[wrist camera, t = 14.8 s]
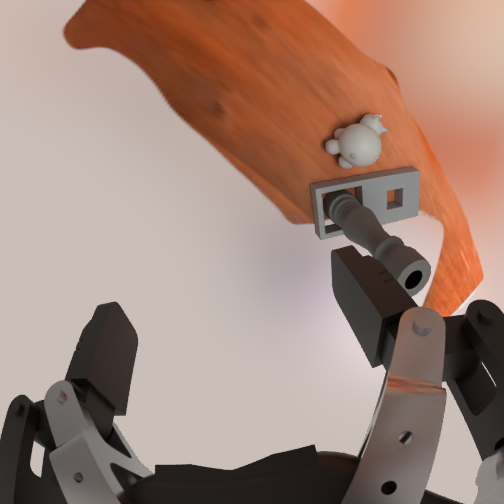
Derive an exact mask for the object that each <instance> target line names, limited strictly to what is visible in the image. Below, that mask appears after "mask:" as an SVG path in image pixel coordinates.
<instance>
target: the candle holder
mask: <svg viewBox="0 0 504 504" xmlns="http://www.w3.org/2000/svg"><path fill="white" fill-rule="evenodd" d="M323 211H324V213H325V214H326V215H327V216H328V217H329V218H330V219H331V220H332V222H334V224H337V225H338V226H340V227H342V230H343V233H344V235H345V236H346V237H347V238H348V239H349V240H350V241H352V242H354V243H356V244H358V245H360V246H362V247H364V248H365V249H367V250H368V251H369V252H370V253H371V254H372V255H373V256H372V257H373V258H375V259H377V260H379V261H380V262H381V263H382V264H383V265H384V266H385V267H386V268H387V270H388V272H390V273H391V274H392V275H393V276H394V279H396V280H397V281H398V282H399V283H400V285H401V286H402V287H403V288H404V289H405V291H406V292H407V293H408V294H409V295H410V297H412V296H414V295H416V294H417V293H418V292H419V291H420V290H421V289H423V288H424V286H425V285H426V283H427V282H428V280H429V277H430V274H431V266H430V264H429V262H427V260H426V259H425V258H424V257H423V256H421V255H420V254H419V253H418V252H417V251H416V250H415V249H413V248H411V247H407V246H405V245H404V243H403V241H402V240H401V239H400V238H398V237H396V236H390V235H389V234H388V233H387V232H385V231H384V229H383V228H382V226H381V224H380V223H379V221H378V219H377V217H376V216H375V214H374V213H373V211H372V210H371V209H369V208H367V207H365V206H361V205H360V203H359V202H358V200H357V199H356V198H355V197H354V196H353V195H352V194H350V193H349V192H348V191H346V190H344V189H342V190H337V191H332V192H328V193H327V194H326V195H325V198H324V200H323Z"/></svg>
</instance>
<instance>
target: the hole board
mask: <svg viewBox="0 0 504 504" xmlns="http://www.w3.org/2000/svg"><path fill="white" fill-rule="evenodd" d="M352 187H355V194H356V199H357V200H358V202H359V203H360V205H361V206H365V207H367V208H369V209H371V210H372V211H373V213H374V214H375V216H376V217H377V219H378V221H379V223H380V224H381V225H383V224H387V223H391V222H395V221H399V220H403V219H407V218H411V217H415V216H418V209H419V189H420V170H417V169H415V168H413V167H405V168H399V169H392V170H386V171H380V172H374V173H368V174H362V175H356V176H351V177H345V178H340V179H334V180H329V181H324V182H319V183H314V184H310V189H311V197H312V205H313V214H314V223H315V232H316V234H317V236H318V237H319V238H320V240H323V239H327V238H331V237H335V236H339V235H343V234H344V233H343V230H342V227H340V226H338V225H337V224H332V225H327V226H325V225H324V213H323V203H322V193H327V192H332V191H337V190H342V189H347V188H352ZM394 189H395V201H393V202H388V203H387V191H389V190H394Z"/></svg>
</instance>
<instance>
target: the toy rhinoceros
mask: <svg viewBox="0 0 504 504" xmlns="http://www.w3.org/2000/svg"><path fill="white" fill-rule="evenodd" d="M380 117H382V116H381V115H372V114H366V115H364V116H363V118H362V119H361V121H360V124H352V125H349V126H348V127H346V128H345V129H343V128H340V129H337V130H335V132H334V138H335V139H331V140H328V141H327V142H326V151H327V152H328V153H329V154H338V153H341V156H340V157H339V159H338V162H339V165H340V167H342V168H344V169H348V168H351V167H353V166H354V165H355V166H359V167H364V166H368V165H371V164H372V163H374V162H375V161H376V160H377V159H378V157H379V155H380V153H381V141H380V138H379V136H380V135H381V134H382V133H385V132H388V131H389V130H388V129H386V128H384V127H383V125H382V123H381V121H380V120H379V119H380Z"/></svg>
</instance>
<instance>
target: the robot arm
mask: <svg viewBox="0 0 504 504" xmlns="http://www.w3.org/2000/svg"><path fill="white" fill-rule="evenodd" d="M331 267H332V287H333V292H334V295H335V298H336V300H337V303H338V304H339V306H340V308H341V309H342V312H343V313H344V315H345V317H346V319H347V321H348V322H349V324H350V326H351V328H352V330H353V332H354V334H355V336H356V337H357V339H358V341H359V343H360V345H361V347H362V349H363V351H364V352H365V355H366V356H367V358H368V360H369V362H370V364H371V366H372V368H374V367H377V366H379V365H382V364H383V366H384V368H385V370H386V374H385V377H384V381H383V384H382V388H381V391H380V395H379V398H378V401H377V405H376V408H375V411H374V414H373V417H372V420H371V423H370V425H369V428H368V430H367V433H366V435H365V438H364V441H363V443H362V446H361V448H360V451H359V453H358V455H357V457H356V456H354V455H349V454H346V453H340V452H329V451H320V452H316V448H315V445H310V446H306V447H302V448H298V449H295V450H290V451H286V452H281V453H276V454H273V455H270V456H268V457H265V458H263V459H260V460H258V461H256V462H253V463H251V464H248V465H246V466H243V467H240V468H237V469H234V470H223V469H215V468H209V467H203V466H197V465H192V464H186V465H155V474H153V473H152V472H151V471H150V470H149V469H148V468H147V467H145V466H144V465H143V464H142V463H141V462H140V461H139V459H138V458H137V456H136V455H135V453H134V452H133V450H132V449H131V447H130V446H129V444H128V443H127V441H126V440H125V438H124V436H123V435H122V433H121V431H120V430H119V428H118V426H117V425H116V424H115V423H114V422H113V418H114V416H116V415H117V416H119V415H121V416H123V415H126V409H127V402H128V396H129V390H130V384H131V378H132V373H133V367H134V362H135V357H136V352H137V347H138V337H137V333H136V331H135V329H134V327H133V326H132V324H131V323H130V321H129V319H128V318H127V316H126V315H125V313H124V311H123V310H122V308H121V306H120V305H119V304H118V303H117V302H110V303H106V304H101V305H98V306H97V308H96V310H95V312H94V315H93V317H92V319H91V320H90V321H89V323H88V324H87V325H86V326H85V328H84V329H83V331H82V333H81V336H80V338H79V342H78V344H77V346H76V351H74V354H73V357H72V360H71V362H70V365H69V368H68V372H67V374H66V377H65V380H63V381H58V382H56V383H55V384H53V385H52V386H51V387H50V388H49V390H48V391H47V393H46V395H45V399H44V400H41V401H38V402H36V403H33V402H32V401H31V400H30V399H29V398H28V397H27V396H25V395H19V396H17V397H16V398H14V400H13V401H12V402H11V404H10V406H9V408H8V411H7V415H6V419H5V422H4V427H3V430H2V434H1V439H0V504H463V503H460V502H457V501H454V500H451V499H449V498H446V497H443V496H441V495H438V494H436V493H433V492H431V491H428V490H426V489H425V488H426V485H427V482H428V479H429V476H430V473H431V469H432V465H433V462H434V459H435V455H436V451H437V446H438V442H439V438H440V433H441V428H442V423H443V418H444V412H445V405H446V396H447V394H446V389H445V388H442V382H444V381H446V383H447V385H448V387H449V389H450V390H451V392H452V394H453V396H454V398H455V400H456V402H457V404H458V406H459V408H460V411H461V412H462V414H463V417H464V419H465V421H466V423H467V425H468V428H469V430H470V432H471V434H472V437H473V439H474V441H475V444H476V446H477V449H478V451H479V454H480V456H481V459H482V461H483V462H482V464H481V466H480V468H479V470H478V474H477V477H476V485H477V486H478V494H477V497H476V500H475V502H474V504H504V314H503V312H502V311H501V310H500V309H499V308H498V307H497V306H496V305H495V304H494V303H492V302H490V301H487V300H475V301H473V302H471V303H470V304H469V306H468V308H467V310H466V313H465V314H464V315H457V316H449V317H442V316H441V315H440V314H439V313H438V312H436V311H435V310H433V309H431V308H427V307H419V306H418V305H417V304H416V303H415V302H414V300H413V299H412V298H411V297H410V295H409V294H408V293H407V292H406V291H405V289H404V288H403V287H402V286H401V285H400V283H399V282H398V281H397V280H396V279H394V276H393V275H392V274H391V273H390V272H388V270H387V268H386V267H385V266H384V265H383V264H382V263H381V262H380V261H379V260H377V259H375V258H373V257H371V256H369V255H367V256H364V257H362V255H361V254H360V253H359V252H358V251H357V250H356V248H355V247H354V246H352V245H350V246H346V247H343V248H339V249H335V250H332V252H331ZM482 362H483V364H484V365H485V367H486V368H487V370H488V372H489V373H490V375H491V377H492V378H493V380H494V382H495V384H496V386H495V385H494V383H493V381H492V379H491V378H490V376H489V374H488V373H487V371H486V369H485V368H484V366H483V365H482ZM34 441H35V442H37V443H38V444H40V445H41V446H43V447H44V448H45V452H44V458H43V466H42V475H41V478H40V477H38V476H37V475H35V474H34V473H33V471H32V470H31V467H30V460H31V453H32V447H33V442H34Z"/></svg>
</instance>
